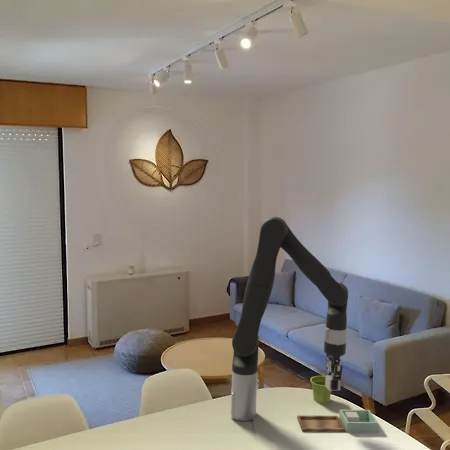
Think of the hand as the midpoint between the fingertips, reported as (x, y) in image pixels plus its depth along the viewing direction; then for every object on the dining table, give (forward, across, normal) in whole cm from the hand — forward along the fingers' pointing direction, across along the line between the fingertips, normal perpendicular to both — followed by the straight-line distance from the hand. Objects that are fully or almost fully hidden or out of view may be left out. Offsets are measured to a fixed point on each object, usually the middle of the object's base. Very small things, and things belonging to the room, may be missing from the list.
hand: (332, 386), depth 182 cm
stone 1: (+1, 0, 0) cm, 1 cm away
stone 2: (+14, 0, +8) cm, 16 cm away
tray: (+15, 0, -4) cm, 15 cm away
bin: (+15, 0, +10) cm, 18 cm away
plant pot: (+15, -20, +1) cm, 25 cm away
